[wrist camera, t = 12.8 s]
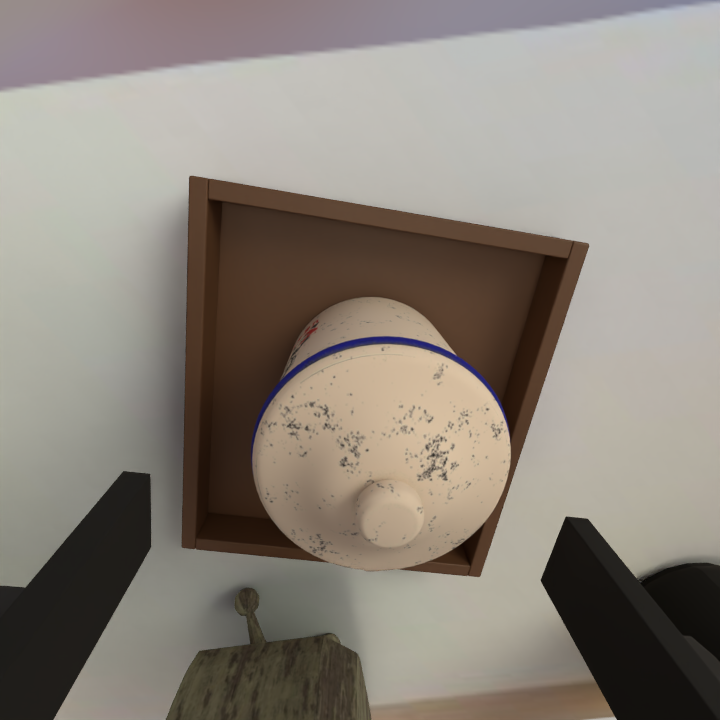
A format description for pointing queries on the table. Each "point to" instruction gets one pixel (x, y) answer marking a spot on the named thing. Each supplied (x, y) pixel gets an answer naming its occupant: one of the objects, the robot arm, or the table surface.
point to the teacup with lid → (379, 440)
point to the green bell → (273, 678)
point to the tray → (324, 289)
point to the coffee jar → (690, 601)
